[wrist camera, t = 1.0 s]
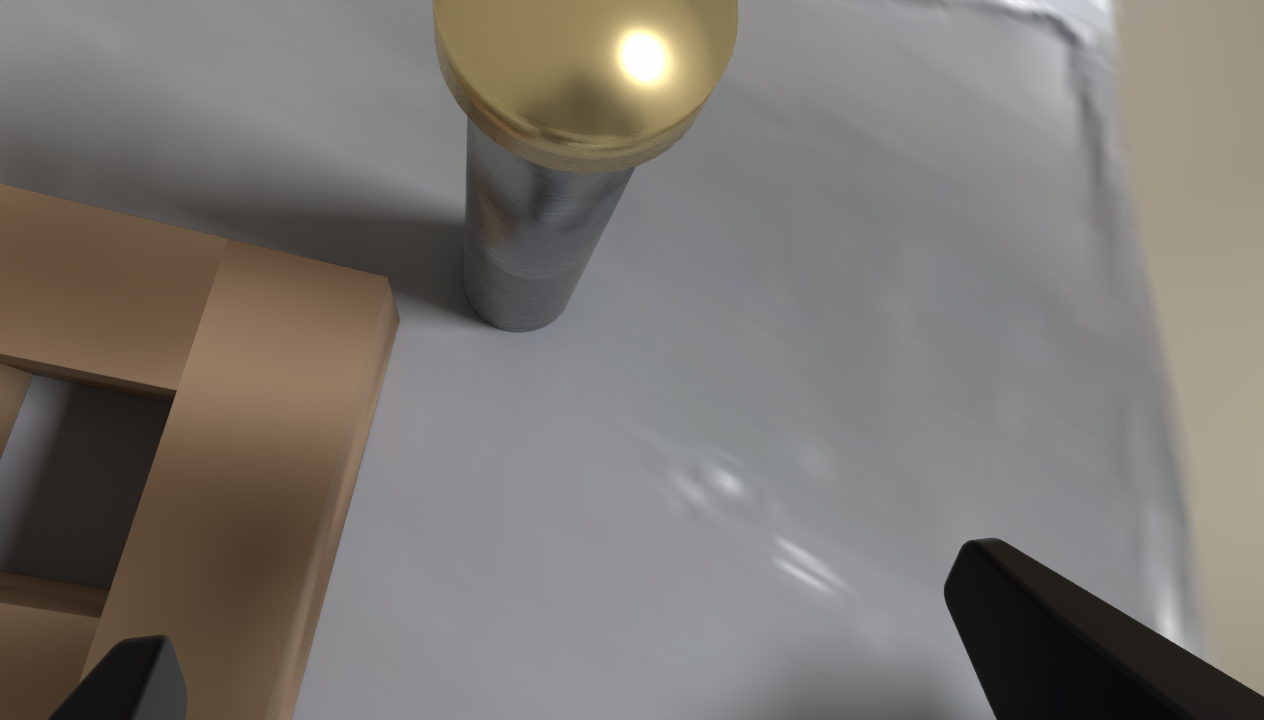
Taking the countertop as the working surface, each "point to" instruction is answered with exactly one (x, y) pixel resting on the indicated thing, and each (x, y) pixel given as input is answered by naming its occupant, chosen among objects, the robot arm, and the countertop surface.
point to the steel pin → (565, 128)
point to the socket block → (192, 444)
